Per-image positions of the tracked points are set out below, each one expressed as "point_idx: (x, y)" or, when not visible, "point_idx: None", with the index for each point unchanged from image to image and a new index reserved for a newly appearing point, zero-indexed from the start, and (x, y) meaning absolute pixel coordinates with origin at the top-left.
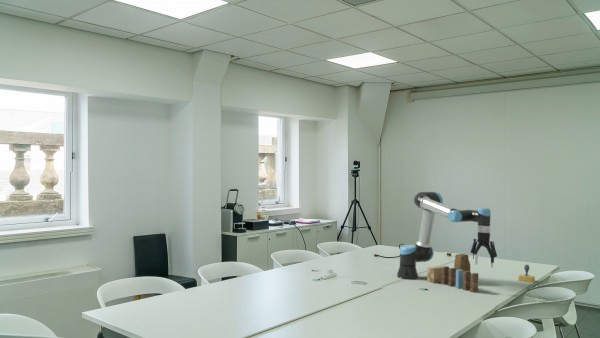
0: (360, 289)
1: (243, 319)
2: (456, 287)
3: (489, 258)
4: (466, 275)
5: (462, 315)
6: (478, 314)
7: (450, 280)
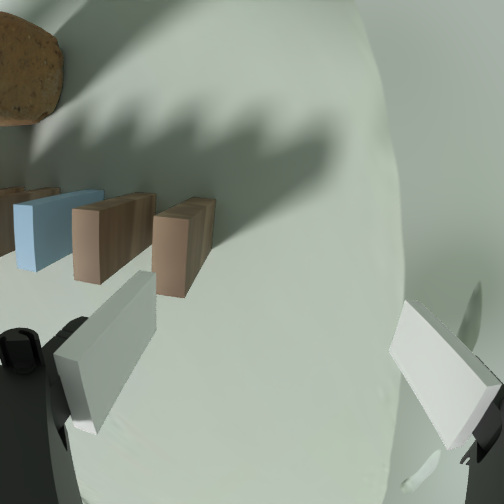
0: None
1: None
2: None
3: (441, 437)
4: (112, 266)
5: (351, 500)
6: (383, 474)
7: None
